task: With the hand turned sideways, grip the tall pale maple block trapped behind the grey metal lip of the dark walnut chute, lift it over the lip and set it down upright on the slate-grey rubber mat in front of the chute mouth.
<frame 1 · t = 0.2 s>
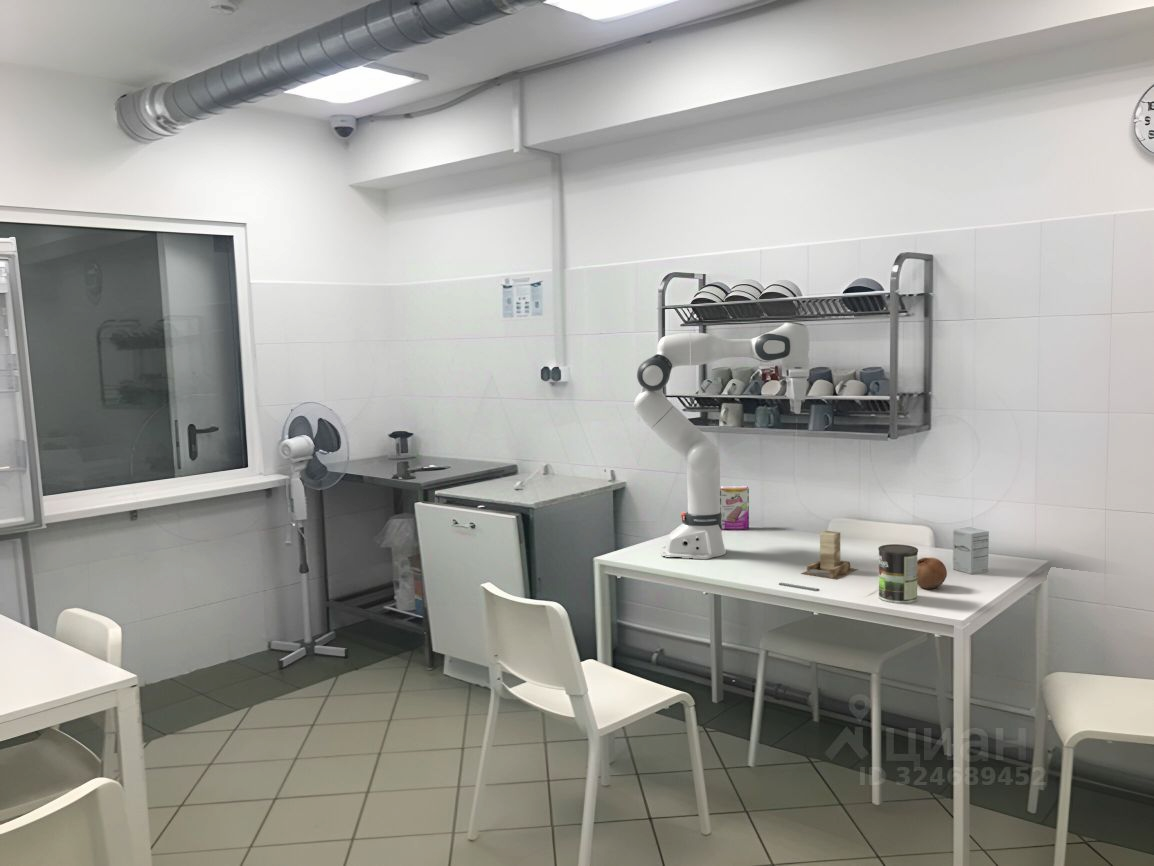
hand: (795, 412, 301), 48 cm above the table, tool pointing down, fingers open, 8 cm apart
candy bar box: (734, 529, 348), on the table
coffee can: (898, 599, 249), on the table
walnut chute: (830, 572, 278), on the table
onion: (929, 588, 258), on the table
maple block: (830, 571, 278), resting on walnut chute
supplement box: (970, 571, 275), on the table
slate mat: (807, 583, 267), on the table
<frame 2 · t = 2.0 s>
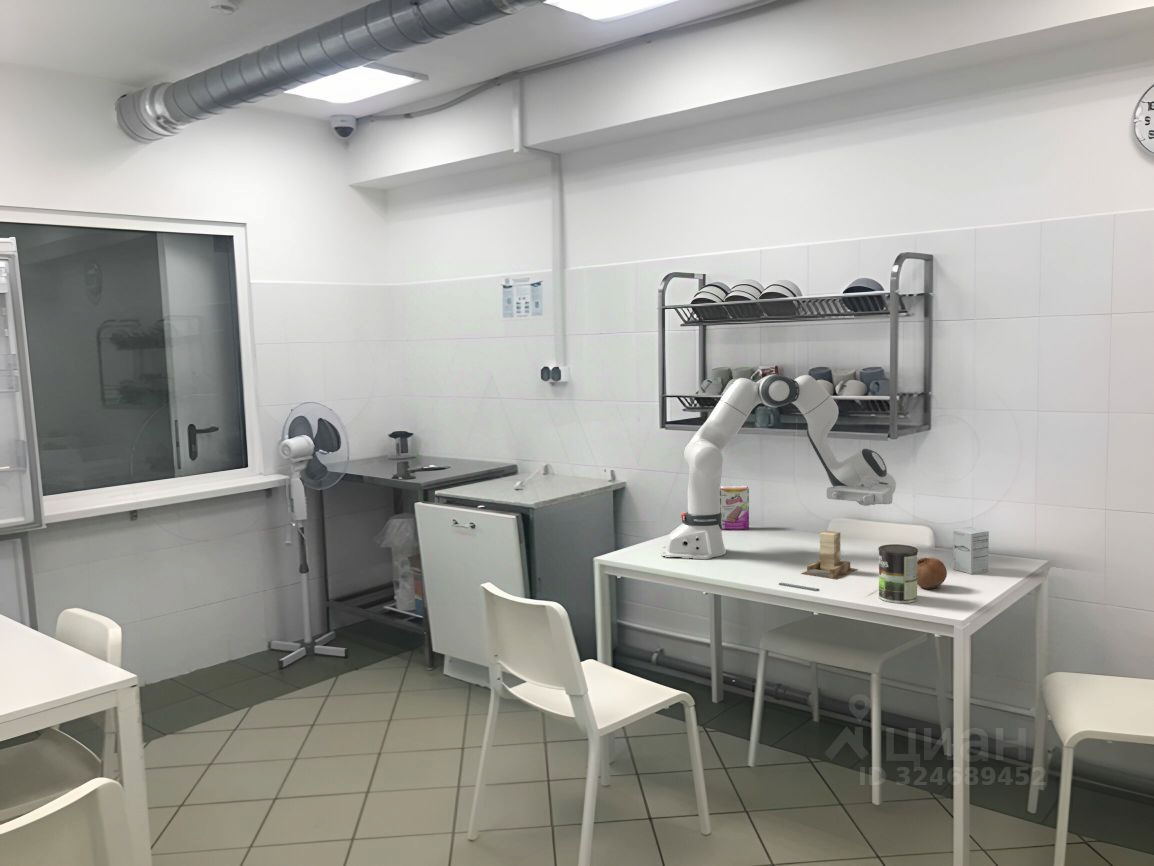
hand: (847, 498, 285), 21 cm above the table, tool horizontal, fingers open, 8 cm apart
nothing on the table moved.
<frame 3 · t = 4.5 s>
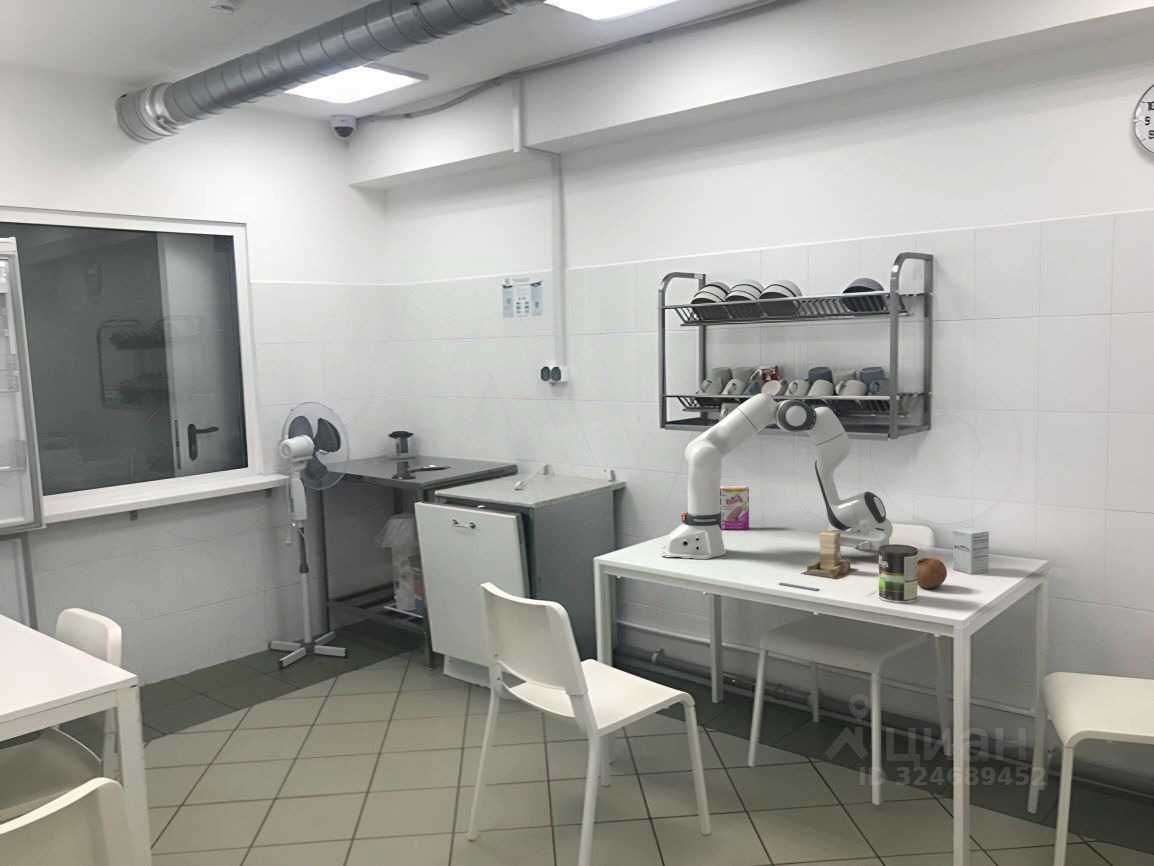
hand: (844, 544, 285), 7 cm above the table, tool horizontal, fingers open, 8 cm apart
nothing on the table moved.
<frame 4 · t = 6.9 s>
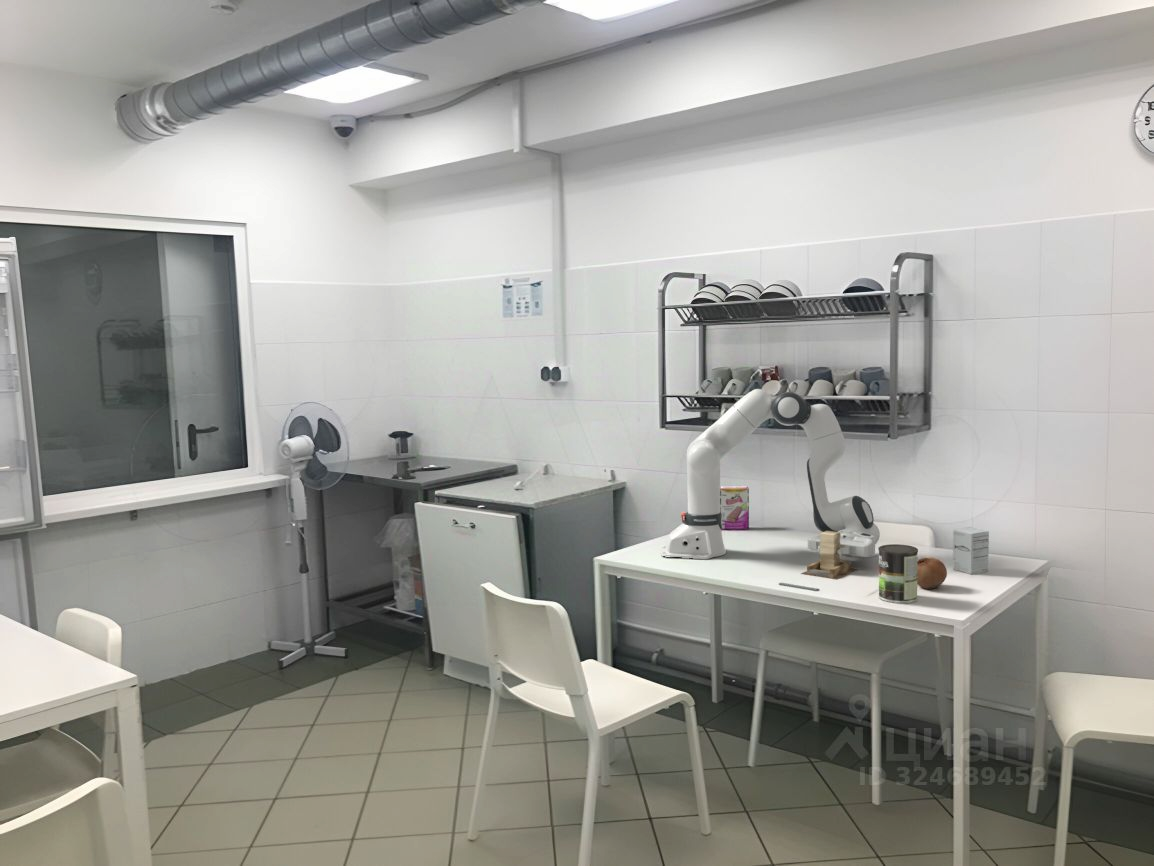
hand: (828, 550, 277), 7 cm above the table, tool horizontal, fingers closed on maple block, 4 cm apart
maple block: (830, 571, 278), point 1 cm above the table, touching gripper, walnut chute
everything else where it was.
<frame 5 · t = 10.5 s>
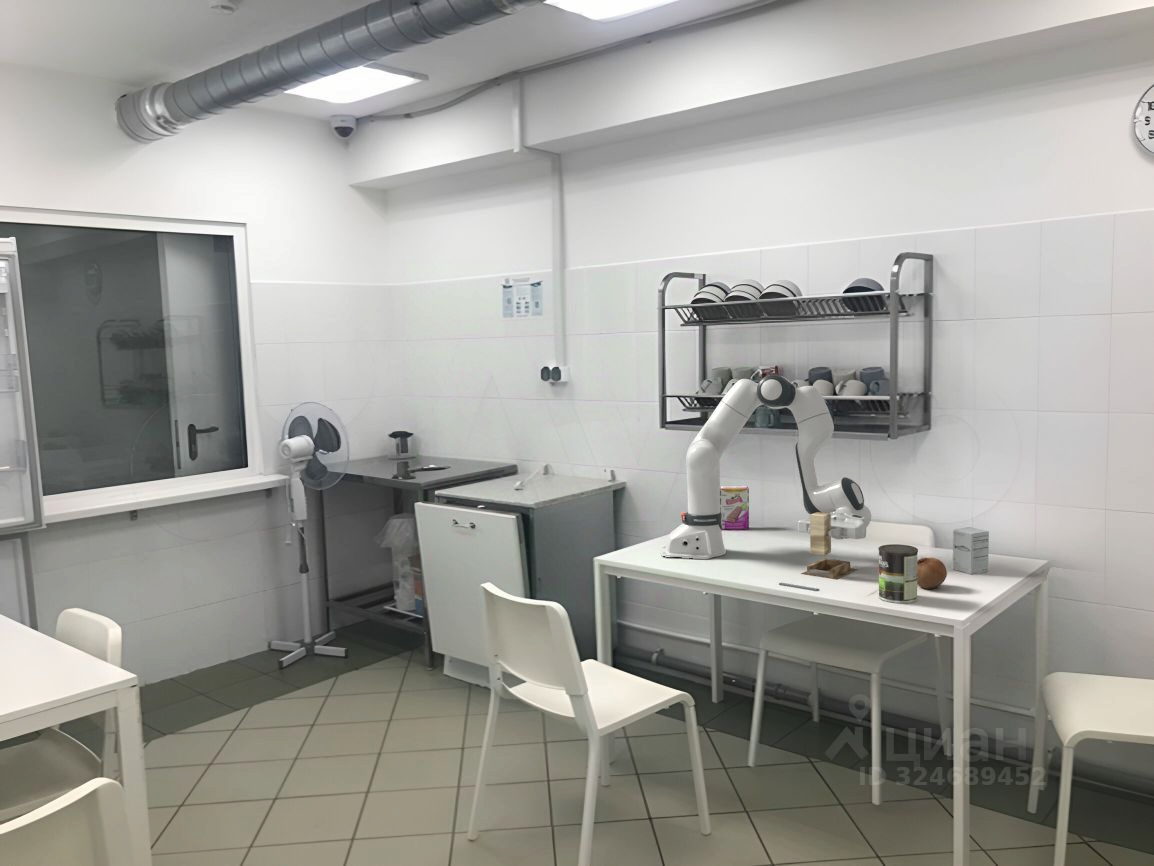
hand: (819, 532, 272), 14 cm above the table, tool horizontal, fingers closed on maple block, 4 cm apart
maple block: (820, 553, 273), point 7 cm above the table, touching gripper
everything else where it was.
when the fingers open (8 cm above the table, at t = 14.4 s): maple block drops 1 cm, resting on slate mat.
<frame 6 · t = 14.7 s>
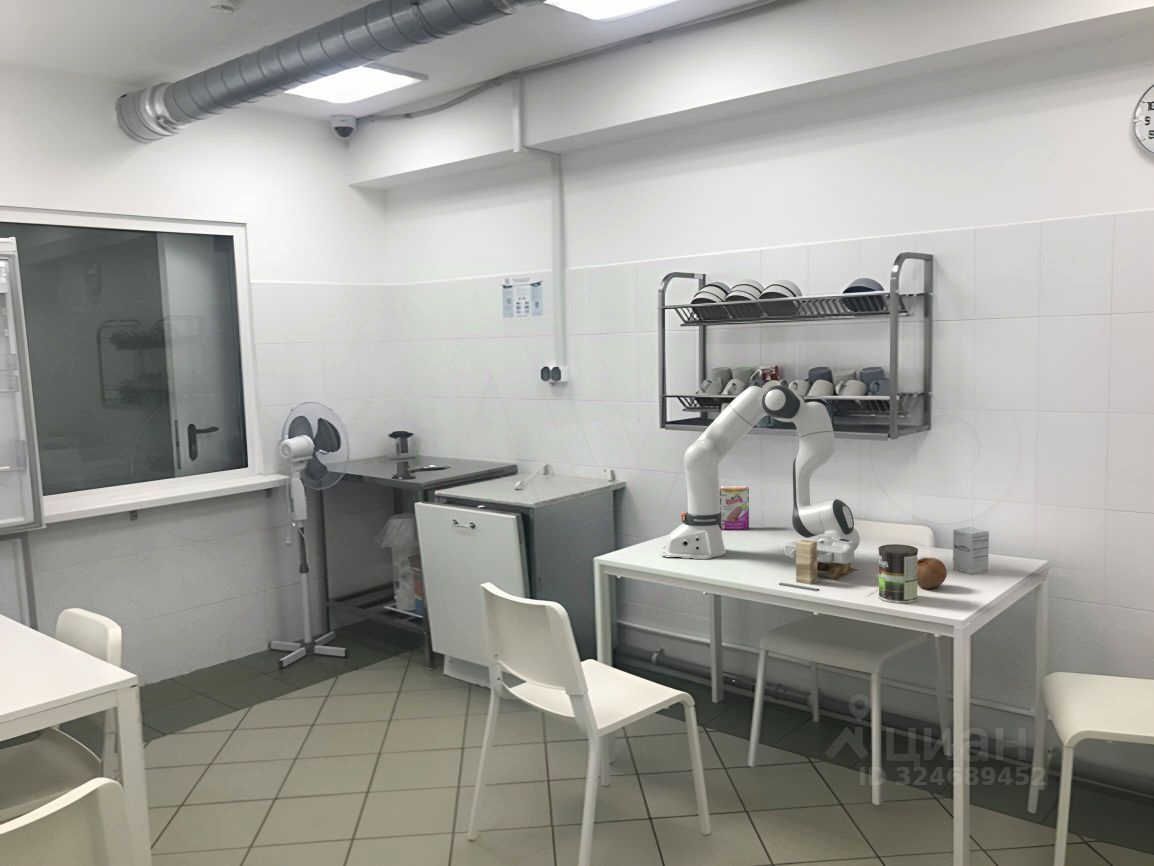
hand: (805, 557, 266), 8 cm above the table, tool horizontal, fingers open, 7 cm apart
maple block: (806, 581, 267), resting on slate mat
everything else where it was.
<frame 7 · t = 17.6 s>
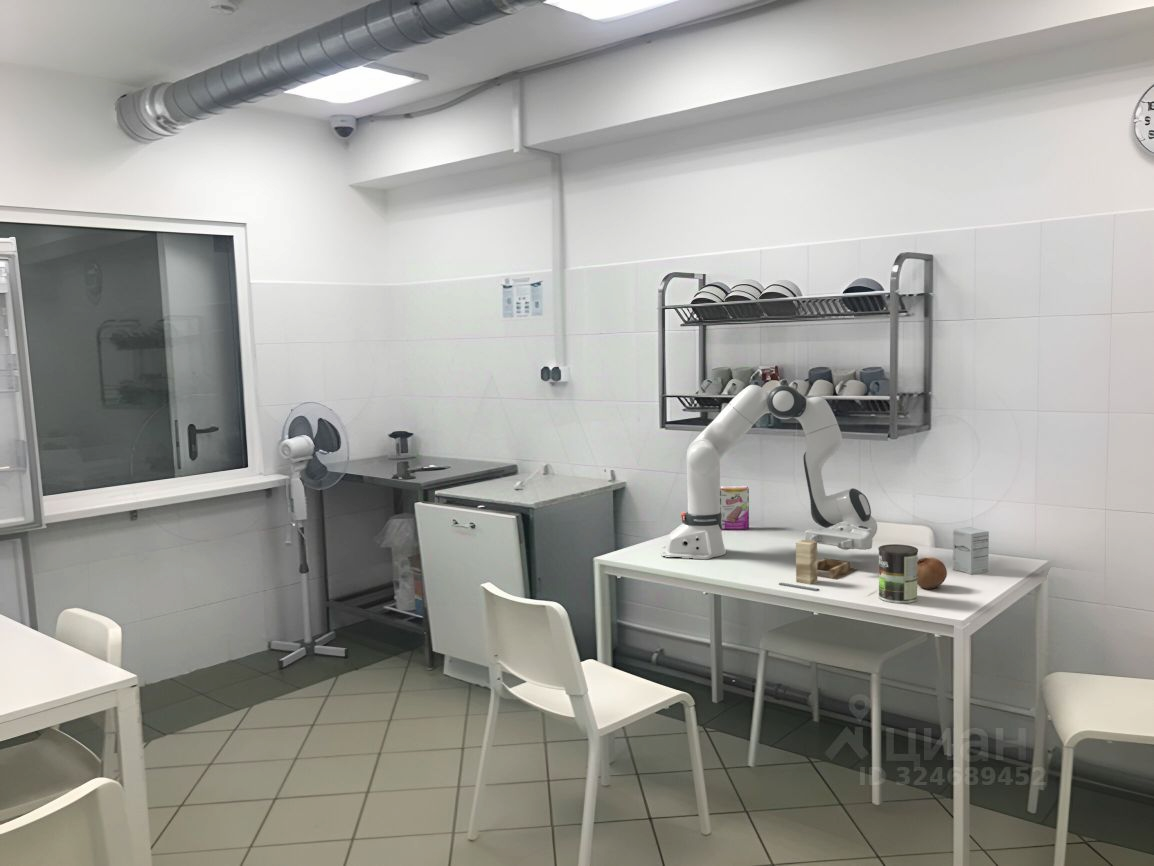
hand: (825, 542, 276), 10 cm above the table, tool horizontal, fingers open, 8 cm apart
nothing on the table moved.
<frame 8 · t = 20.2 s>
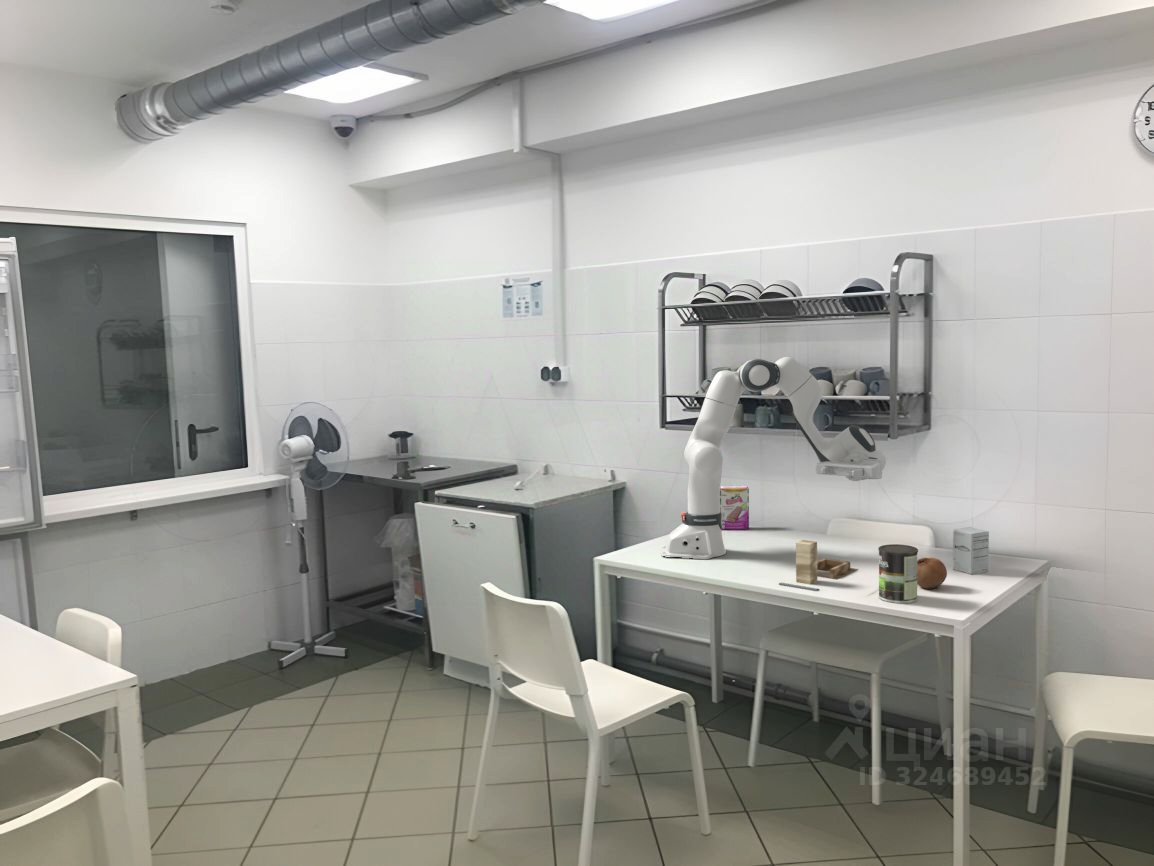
hand: (837, 472, 283), 30 cm above the table, tool horizontal, fingers open, 8 cm apart
nothing on the table moved.
at the end: maple block inside the target area (0.2 cm from its centre), resting on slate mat; maple block tilted 0°; the gripper is holding nothing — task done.
